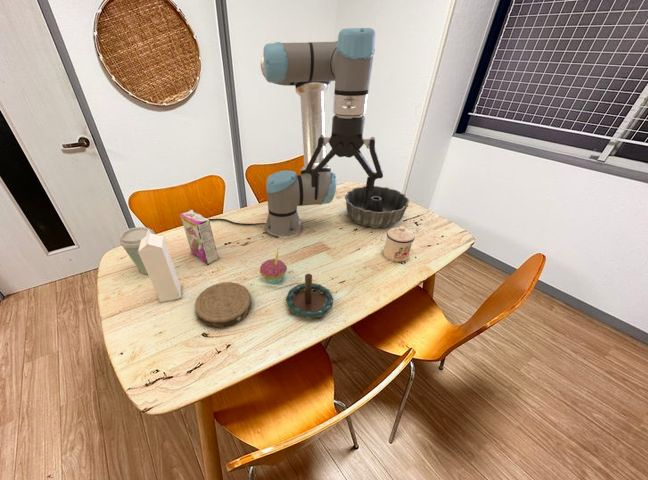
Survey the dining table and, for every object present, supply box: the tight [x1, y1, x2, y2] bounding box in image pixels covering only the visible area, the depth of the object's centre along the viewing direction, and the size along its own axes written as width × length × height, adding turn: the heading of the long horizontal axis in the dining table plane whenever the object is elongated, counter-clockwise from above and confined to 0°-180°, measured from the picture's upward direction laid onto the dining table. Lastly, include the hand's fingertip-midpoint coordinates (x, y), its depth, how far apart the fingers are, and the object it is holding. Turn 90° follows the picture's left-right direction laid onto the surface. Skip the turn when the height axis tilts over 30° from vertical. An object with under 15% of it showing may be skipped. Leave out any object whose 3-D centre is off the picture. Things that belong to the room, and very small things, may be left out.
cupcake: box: [259, 251, 288, 285], centre depth 88 cm, size 9×8×12 cm
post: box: [289, 273, 326, 319], centre depth 79 cm, size 9×9×11 cm
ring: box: [285, 282, 335, 319], centre depth 81 cm, size 14×14×2 cm
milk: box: [138, 228, 182, 303], centre depth 80 cm, size 6×6×22 cm
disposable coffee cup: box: [118, 226, 156, 275], centre depth 93 cm, size 11×11×15 cm
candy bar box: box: [179, 209, 219, 265], centre depth 98 cm, size 11×5×16 cm, turn 47°
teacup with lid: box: [383, 225, 416, 263], centre depth 98 cm, size 12×9×12 cm
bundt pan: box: [344, 185, 410, 229], centre depth 120 cm, size 26×26×10 cm
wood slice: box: [194, 281, 252, 329], centre depth 81 cm, size 16×16×3 cm
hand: (340, 199), depth 78 cm, fingers open, 13 cm apart
